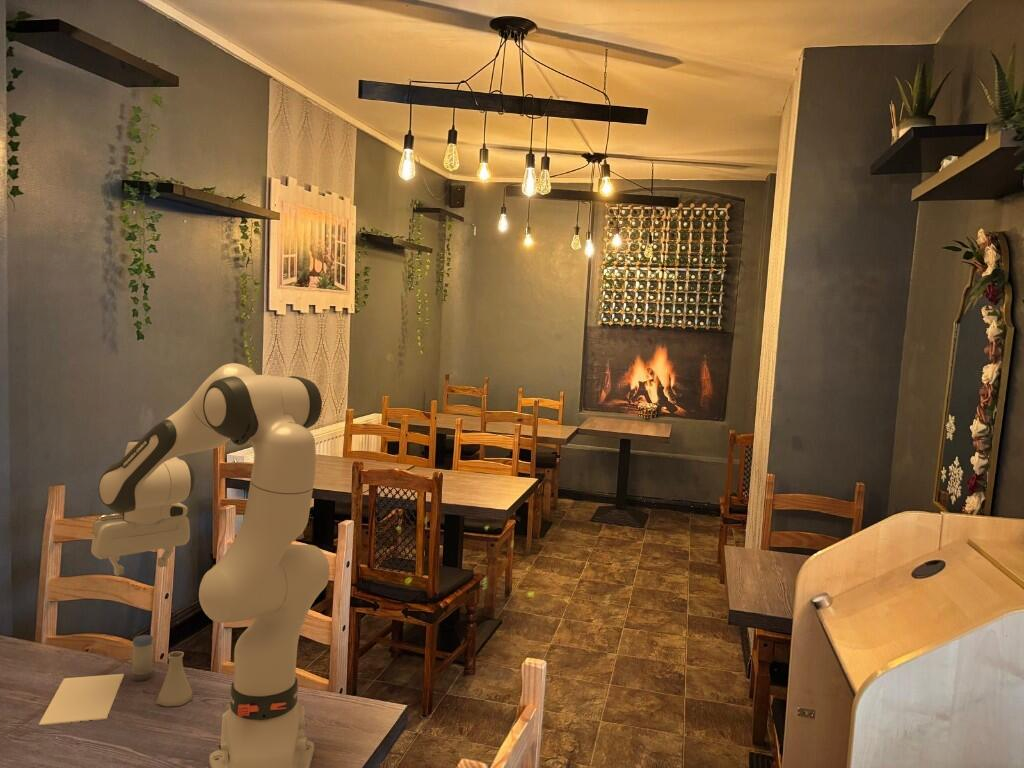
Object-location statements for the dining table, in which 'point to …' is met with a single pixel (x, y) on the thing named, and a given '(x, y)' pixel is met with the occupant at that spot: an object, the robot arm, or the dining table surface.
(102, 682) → the paper
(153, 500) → the robot arm
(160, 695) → the flask
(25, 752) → the dining table surface
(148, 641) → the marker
